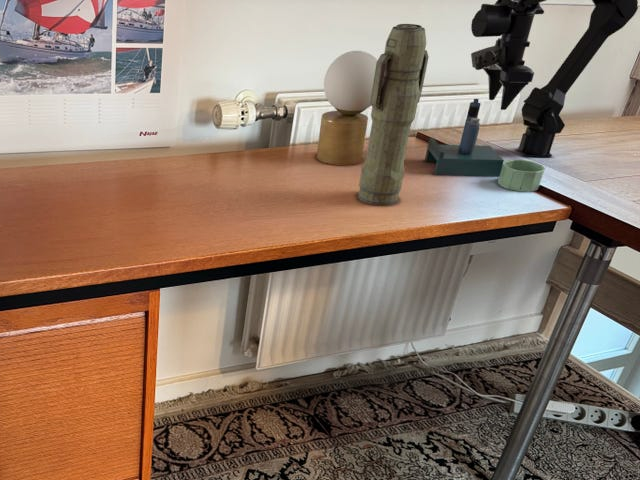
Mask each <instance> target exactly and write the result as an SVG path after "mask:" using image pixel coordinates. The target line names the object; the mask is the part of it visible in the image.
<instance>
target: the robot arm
mask: <svg viewBox="0 0 640 480" xmlns="http://www.w3.org/2000/svg"><path fill="white" fill-rule="evenodd" d="M546 1H547V0H496V2H495V3H494V4H493V3H492V4H491V3H482V4H481V6H480V9H479V10H478V11H477V12H476V13H475V14H474V17H473V18H472V21H471V26H470V29H471V30H470V31H471V34H472V36H473V37H475V38H487V37H489V38H490V37H497V39H496V41H495V44H494V45H492V46H489V47H486V48H485V47H484V48H482V49H479V50H476V51H473V52H471V53H470V57H471V66H472V68H474V70H476V71H481V70H483V71H484V72H485V74H486V75H487V77H488V100H489V101H494V100H495V99H496V97H497V95H498V93H499V92H500V90H501V89H502V94H501V102H500V110H501V111H506V110H507V109H508V108H509V106H510V105H511V104H512V102H513V101H514V100H515V99H516V97H517V96H518V95H519V94H520V93H521V92H522V90H523V89H524V88H525V87H527V86H528V85H529V83H532V82H533V79H534V75H535V72H534V71H533V69H532V68H530V67H529V66H527V65H525V63H526V61H525V60H524V59H523V58H524V55H525V51H526V48H529V47H530V45H531V41H529V36H530V32H531V29H532V26H533V21H534V17H535V15H543V14H545V10H544V9H543V8H542V6H541V4H540V3H543V2H546ZM591 1H592V4H593V5H594V8H593V10H592V11H591V13H590V18H589V23H588V26H587V27H588V28H587V29H586V31H585V32H584V33H583V35H582V36H581V37H580V38H579V40H578V42H577V43H576V44H575V45H574V47H573V48H572V50H571V51H570V53H569V54H568V55H567V57H566V58H565V59H564V60H563V62H562V63H561V65H560V66H559V67H558V69H557V71H555V73H554V75H553V76H552V77H551V79H550V80H549V81H548V83H547V84H546V85H544V86H542V87H541V88H539V87H537V86H536V87H534V88H533V89H532V90H531V92H530V93H529V95H528V96H527V97H526V99H524V100H523V103H524V104H523V106H522V107H521V117H522V121H523V122H522V123H523V126H525V127H526V129H525V132H524V133H522V136H521V139H520V143H519V146H518V147H517V150H518V151H519V152H520V153H522V154H523V156H525V157H532V158H533V157H534V158H535V157H536V158H537V157H539V158H540V157H541V158H552V156H553V154H552V153H551V149H552V146H553V143H554V140H555V137H556V135H557V134H561V133H562V131H563V130H564V128H565V126H566V124H565V123H564V121H563V119H562V117H561V116H560V114H561V112H562V110H563V109H564V106H565V100H566V95H567V93H568V92H569V90H570V89H571V87H573V85H574V83H576V81H577V79H579V77H580V75H581V74H582V73H583V71H584V70H585V69H586V67H587V66H588V65H589V64H590V62H591V60H593V58H594V56H595V55H596V54H597V52H599V50H600V49H601V47H602V46H603V44H604V43H605V42H606V41H607V39H608V38H609V37H611V36H612V35H613V34H615V33H617V32H618V31H620V30H621V29H623V28H625V26H626V25H627V24H628V23H629V22H630V21H631V19H632V18H633V17H634V16H635V15H636V13H637V11H638V9H639V6H638V4H639V1H638V0H591Z"/></svg>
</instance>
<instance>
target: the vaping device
mask: <svg viewBox="0 0 640 480" xmlns="http://www.w3.org/2000/svg"><path fill="white" fill-rule="evenodd" d="M479 100H480V99H479V98H474V99H473V101H471V102H469V106H468V110H467V113H466V114H467V115H466V119H465V122H464V125H463V129H462V134H461V138H460V142H459V145H460V146H459V150H460V151H461V152H462V154H465V155H471V154H472V153H473V151H474V148H475V145H477V139H478V135H479V131H480V125H481V124H480V122H481V121H480V120H481V119H480V118H478V117H479V112H480V109H481V102H479Z"/></svg>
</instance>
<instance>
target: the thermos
mask: <svg viewBox="0 0 640 480" xmlns="http://www.w3.org/2000/svg"><path fill="white" fill-rule="evenodd" d="M426 35H427V33H426V28H425V27H422V25H420V24H415V23H398V24H396V26H393V27H392V28H391V31H390V32H389V34H388V36H387V39H386V42H385V45H384V46H385V47H384V52H383V53H381V54H380V56H378V58H377V60H378V61H377V63H376V69H375V76H374V82H373V88H372V94H371V100H370V104H371V106H370V107H372V108H371V112H370V117H371V118H370V119H371V121H372V122H371V127H370V133H369V139H368V143H367V151H366V157H365V162H364V163H363V165H362V167H361V170H360V177H359V182H358V183H359V184H358V187H359V191H358V194H357V198H358V200H359V201H361V202H363V203H365V204H369V205H373V206H391V205H395V204H396V203H398V201H399V198H400V197H399V196H400V192H401V190H402V186H403V181H404V176H405V165H404V162H405V157H406V154H407V153H406V152H407V148H408V141H409V137H410V132H411V127H412V124H413V122H414V120H415V118H416V114H417V109H418V105H419V103H420V99H421V96H422V92H423V87H424V81H425V77H426V73H427V67H428V61H429V57H430V56H429V53H428V50H426V47H427V36H426Z"/></svg>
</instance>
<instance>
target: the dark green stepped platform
mask: <svg viewBox="0 0 640 480" xmlns="http://www.w3.org/2000/svg"><path fill="white" fill-rule="evenodd" d="M459 146H460V144H438V142H437V141H436V140H435V139H434V138H429V139H428V142H427V147H426V152H425V158H424V161H425V162H427V163H429V162H430V163H431V162H432V163H436V164H435V168H434V172H433V173H434V175H435V176H468V177H469V176H471V177H499V176H500V173H501V169H502V165H503V163H504V162H505V159H504V158H503V157H502V156H501V155H499V154H498V152H497V151H496V150H495V149H494V148H492V147H491V145H477V144H475V148H474V151H473V153H472V154H471V155H465V154H462V152H461V151H460V150H459Z"/></svg>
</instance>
